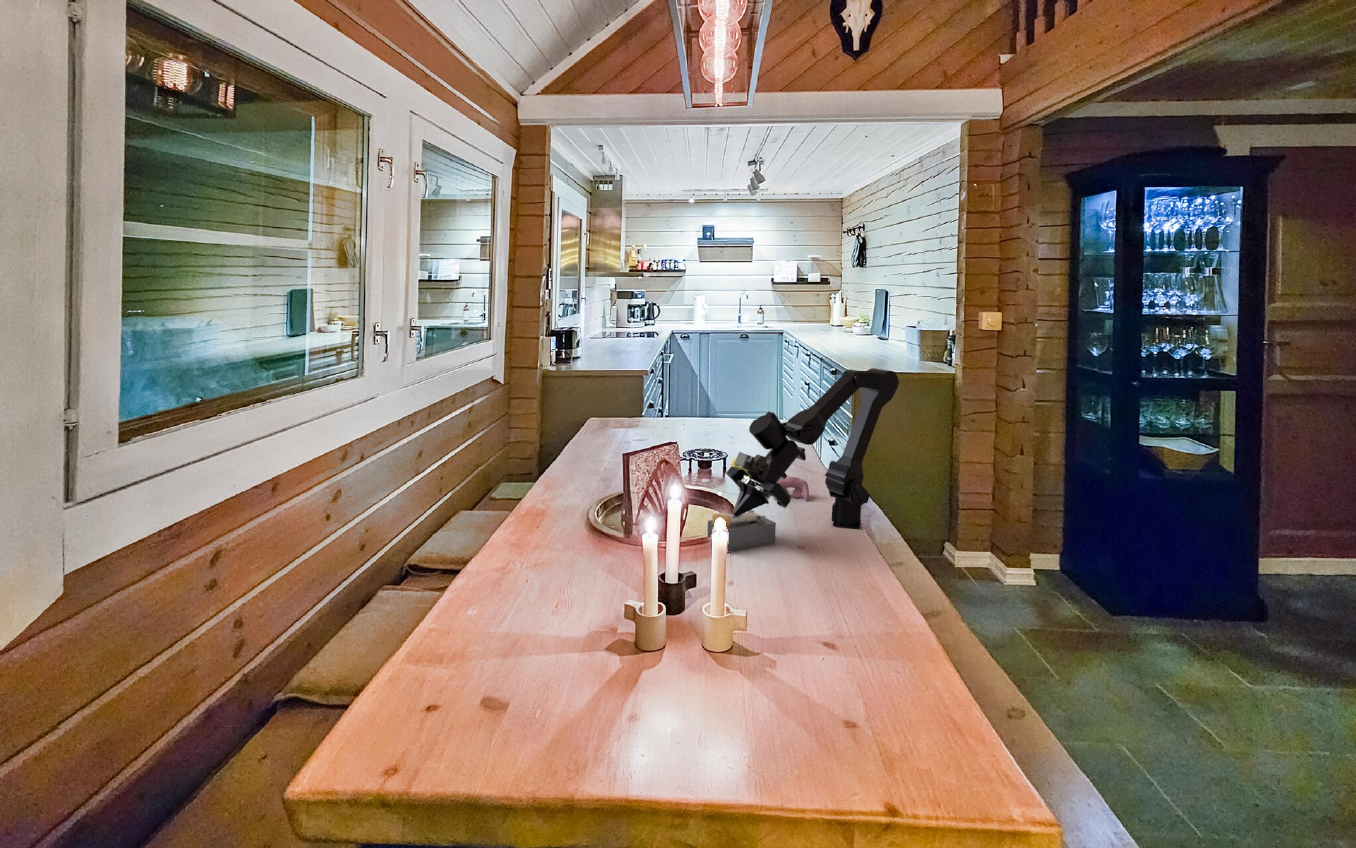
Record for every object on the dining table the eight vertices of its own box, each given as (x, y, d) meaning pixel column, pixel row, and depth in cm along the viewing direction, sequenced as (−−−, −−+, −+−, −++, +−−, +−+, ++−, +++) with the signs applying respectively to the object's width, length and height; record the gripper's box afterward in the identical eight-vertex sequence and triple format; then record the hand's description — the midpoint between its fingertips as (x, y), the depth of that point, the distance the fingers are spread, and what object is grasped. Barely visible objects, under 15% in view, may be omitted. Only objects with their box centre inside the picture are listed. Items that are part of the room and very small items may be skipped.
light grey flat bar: (754, 516, 170) (754, 511, 170) (762, 519, 167) (762, 515, 167) (723, 518, 166) (723, 514, 166) (730, 522, 163) (730, 518, 163)
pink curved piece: (808, 503, 205) (808, 478, 207) (809, 500, 200) (809, 475, 202) (772, 502, 206) (772, 477, 208) (772, 499, 201) (773, 473, 203)
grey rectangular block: (755, 533, 174) (756, 504, 173) (775, 544, 167) (776, 514, 166) (707, 541, 168) (708, 512, 167) (726, 553, 161) (726, 522, 160)
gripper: (734, 432, 173) (692, 483, 170) (781, 447, 157) (736, 504, 154) (761, 462, 178) (720, 511, 175) (809, 480, 162) (766, 535, 159)
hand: (734, 514), depth 165 cm, fingers closed, pressing on light grey flat bar
